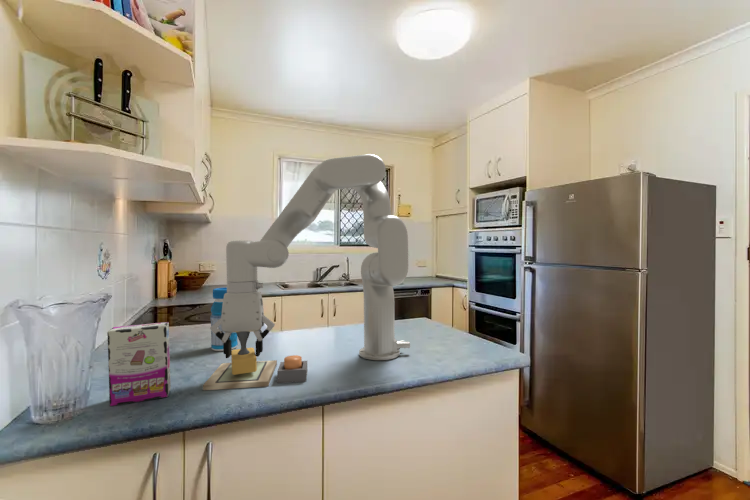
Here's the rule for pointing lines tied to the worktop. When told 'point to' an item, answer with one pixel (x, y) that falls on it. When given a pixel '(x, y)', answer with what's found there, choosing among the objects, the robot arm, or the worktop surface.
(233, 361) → the rubber stamp
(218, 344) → the beverage bottle
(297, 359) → the button
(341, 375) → the worktop surface
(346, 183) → the robot arm
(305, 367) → the button housing
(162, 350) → the candy bar box
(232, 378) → the picture board
